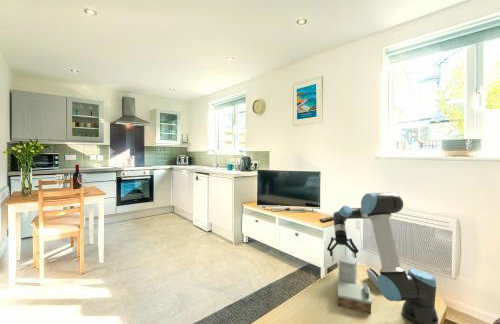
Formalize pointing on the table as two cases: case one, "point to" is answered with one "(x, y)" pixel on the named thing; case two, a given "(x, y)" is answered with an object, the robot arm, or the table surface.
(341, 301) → the brown wooden box
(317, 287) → the table surface
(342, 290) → the lid
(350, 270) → the supplement box
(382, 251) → the robot arm
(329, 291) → the table surface
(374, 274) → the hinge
